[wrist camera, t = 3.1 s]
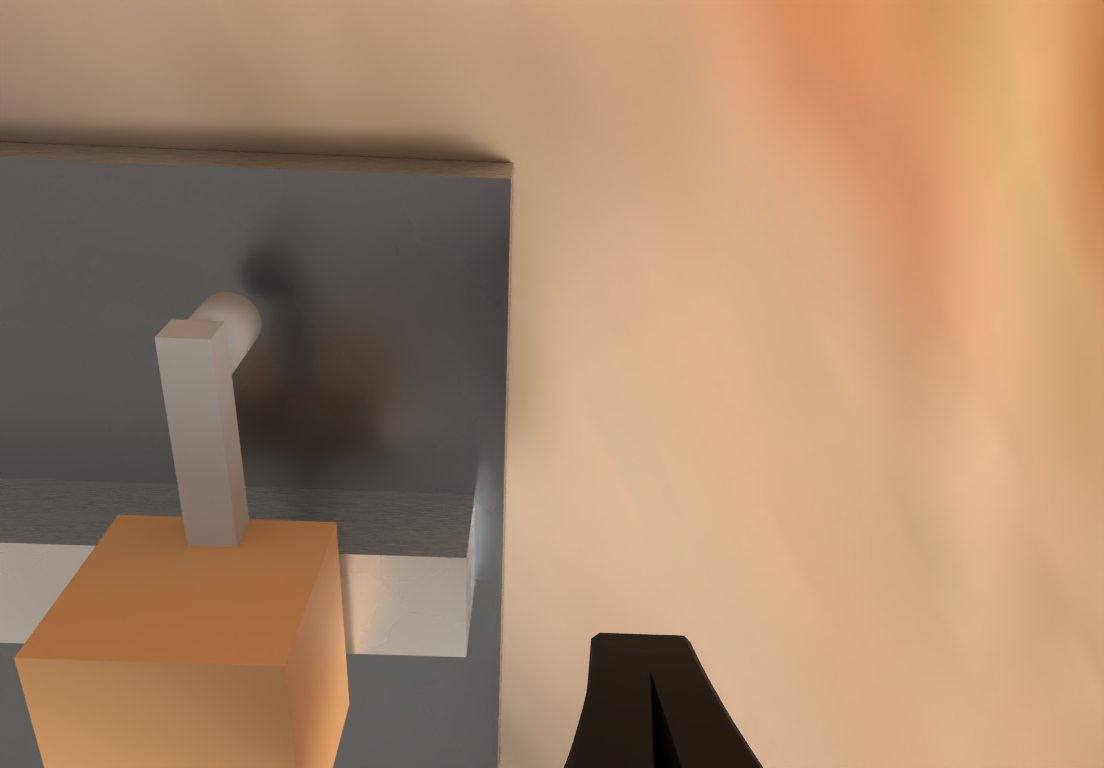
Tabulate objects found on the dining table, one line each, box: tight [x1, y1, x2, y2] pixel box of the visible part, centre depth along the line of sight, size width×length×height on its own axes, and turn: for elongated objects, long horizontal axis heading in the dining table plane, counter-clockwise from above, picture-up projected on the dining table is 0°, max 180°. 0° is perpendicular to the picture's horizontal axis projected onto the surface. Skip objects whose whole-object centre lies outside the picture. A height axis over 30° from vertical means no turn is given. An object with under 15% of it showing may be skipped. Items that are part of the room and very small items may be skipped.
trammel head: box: [14, 292, 349, 768], centre depth 13 cm, size 3×7×4 cm, turn 178°
